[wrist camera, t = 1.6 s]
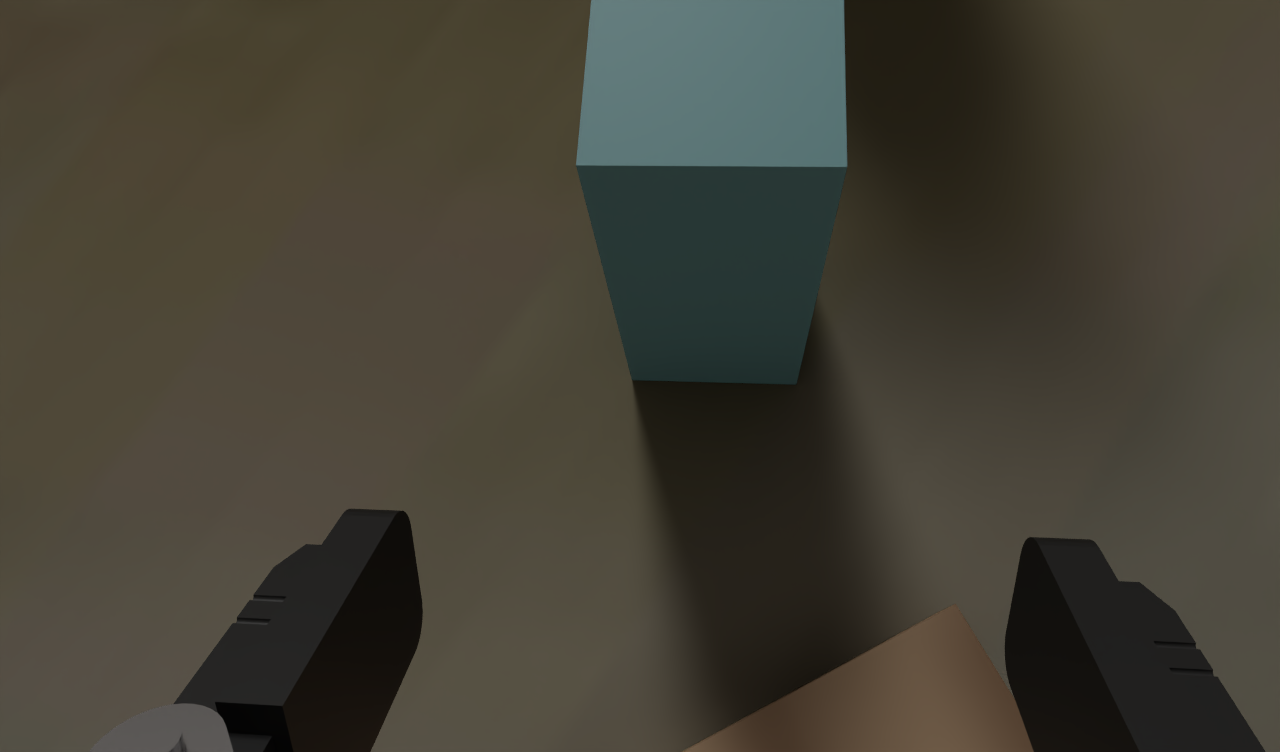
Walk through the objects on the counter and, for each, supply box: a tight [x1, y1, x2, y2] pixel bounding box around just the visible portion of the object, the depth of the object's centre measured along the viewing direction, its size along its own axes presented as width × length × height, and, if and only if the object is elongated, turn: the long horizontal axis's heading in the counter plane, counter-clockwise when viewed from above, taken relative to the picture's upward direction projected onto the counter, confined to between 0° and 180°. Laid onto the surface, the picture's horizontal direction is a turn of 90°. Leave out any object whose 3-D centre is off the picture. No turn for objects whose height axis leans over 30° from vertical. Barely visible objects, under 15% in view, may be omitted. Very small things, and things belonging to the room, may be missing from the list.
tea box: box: [576, 0, 847, 385], centre depth 24 cm, size 5×5×12 cm
